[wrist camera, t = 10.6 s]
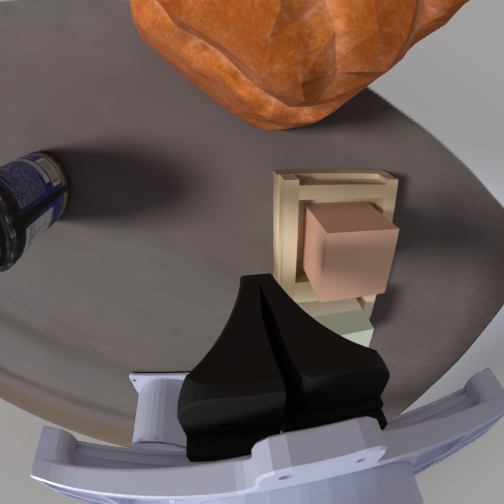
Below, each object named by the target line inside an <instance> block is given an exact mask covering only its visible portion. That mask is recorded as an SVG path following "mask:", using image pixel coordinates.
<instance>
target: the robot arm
mask: <svg viewBox="0 0 504 504" xmlns="http://www.w3.org/2000/svg"><path fill="white" fill-rule="evenodd" d="M389 377H390V374H389V370H388V368H387V366H386V365H385V363H384V361H383V359H382V358H381V356H380V355H379V354H378V352H377V351H376V350H374V349H371V348H368V347H365V346H363V345H360V344H357V343H355V342H353V341H351V340H349V339H347V338H344V337H342V336H341V335H339V334H337V333H335V332H333V331H332V330H330V329H328V328H327V327H325V326H324V325H322V324H321V323H319V322H318V321H317V320H315V319H314V318H313V317H311V316H310V315H309V314H308V313H307V312H305V311H304V310H303V309H302V308H301V307H300V306H299V305H298V304H297V303H296V302H295V301H294V300H293V299H292V298H291V297H290V296H289V295H288V294H287V293H286V292H285V291H284V289H283V288H282V287H281V286H280V285H279V283H278V282H277V281H276V280H275V278H274V277H273V276H272V275H271V274H270V273H269V274H258V275H246V276H242V277H241V278H240V288H239V292H238V296H237V299H236V302H235V305H234V308H233V310H232V313H231V315H230V318H229V320H228V322H227V324H226V326H225V328H224V329H223V331H222V333H221V335H220V336H219V338H218V339H217V341H216V342H215V344H214V345H213V347H212V348H211V349H210V351H209V352H208V353H207V354H206V355H205V357H204V358H203V359H202V360H201V361H200V363H199V364H198V365H197V366H196V367H195V368H194V369H193V370H192V371H191V372H190V373H131V374H130V376H129V378H130V379H131V381H132V383H133V385H134V387H135V388H136V390H137V392H138V394H139V399H138V405H137V412H136V419H135V426H134V434H133V442H132V446H131V448H122V447H114V446H105V445H100V444H93V443H87V442H82V441H77V439H76V438H75V437H74V436H73V435H72V434H70V433H69V432H67V431H64V430H61V429H56V428H52V427H48V426H42V429H41V432H40V436H39V440H38V444H37V447H36V451H35V455H34V459H33V464H32V468H31V473H30V476H31V477H32V478H34V479H35V480H37V481H39V482H40V483H42V484H44V485H46V486H47V487H49V488H51V489H53V490H54V491H56V492H58V493H60V494H62V495H64V496H66V497H69V498H73V499H76V500H79V501H83V502H87V503H91V504H424V501H423V498H422V496H421V493H420V490H419V488H418V485H417V482H416V480H415V477H414V475H416V474H418V473H420V472H422V471H424V470H426V469H428V468H430V467H431V466H433V465H435V464H437V463H439V462H441V461H442V460H444V459H445V458H447V457H449V456H451V455H452V454H454V453H456V452H457V451H459V450H460V449H462V448H464V447H465V446H467V445H468V444H470V443H472V442H473V441H475V440H476V439H478V438H479V437H481V436H482V435H484V434H485V433H486V432H487V431H488V430H489V429H491V428H492V427H493V426H494V425H495V424H496V423H497V421H499V420H500V419H501V418H502V417H503V416H504V389H503V387H502V386H501V384H500V382H499V381H498V380H497V378H496V377H495V375H494V374H493V372H492V371H491V369H490V368H487V369H485V370H483V371H481V372H479V373H477V374H475V375H474V376H473V377H471V378H470V379H469V381H468V382H467V383H466V385H465V386H464V388H462V389H461V390H458V391H456V392H454V393H452V394H450V395H448V396H446V397H443V398H441V399H439V400H437V401H434V402H432V403H430V404H427V405H425V406H422V407H420V408H417V409H415V410H412V411H409V412H407V413H404V414H402V415H399V416H396V417H393V418H390V419H387V420H386V418H385V416H384V413H383V411H382V409H381V408H382V407H383V402H382V400H381V398H380V396H381V394H382V392H383V390H384V388H385V387H386V385H387V383H388V380H389ZM281 430H282V433H281V434H280V432H281Z"/></svg>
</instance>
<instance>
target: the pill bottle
mask: <svg viewBox="0 0 504 504" xmlns="http://www.w3.org/2000/svg"><path fill="white" fill-rule="evenodd" d="M68 200H69V184H68V178H67V176H66V173H65V171H64V169H63V167H62V165H61V164H60V163H59V162H58V160H56V159H55V158H54V157H53V156H52V155H50V154H47V153H44V152H33V153H30V154H28V155H26V156H23V157H21V158H19V159H16V160H14V161H12V162H10V163H8V164H6V165H4V166H1V167H0V272H3V271H5V270H7V269H9V268H10V267H12V266H13V265H14V264H15V263H16V261H17V260H18V259H19V258H20V257H21V256H22V255H23V254H24V253H25V251H26V250H27V249H28V248H29V247H30V246H31V245H32V244H33V243H34V242H35V241H36V240H37V239H38V238H39V237H40V236H41V235H42V234H43V233H44V232H45V231H46V230H47V229H48V228H49V227H50V226H51V225H52V224H53V223H54V222H55V221H56V220H58V219H59V218H60V216H61V215H62V214H63V212H64V211H65V210H66V207H67V205H68Z"/></svg>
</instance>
